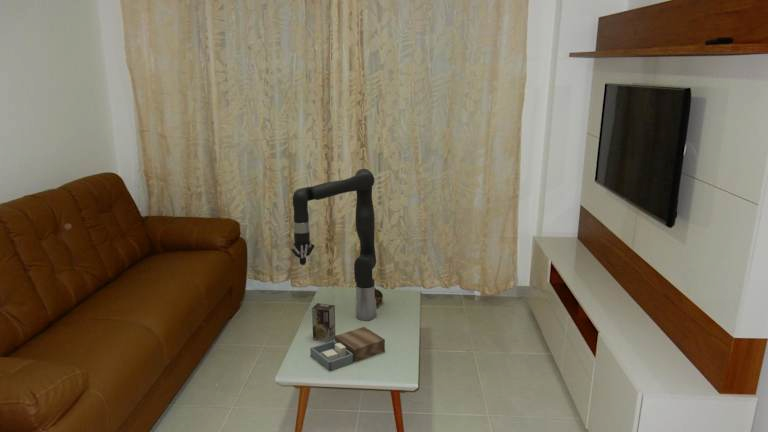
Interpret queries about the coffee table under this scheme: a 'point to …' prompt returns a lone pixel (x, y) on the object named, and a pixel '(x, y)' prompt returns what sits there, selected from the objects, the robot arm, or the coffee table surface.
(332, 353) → the front tile
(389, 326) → the coffee table surface
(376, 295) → the decorative turtle
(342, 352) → the rear tile
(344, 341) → the block
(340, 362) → the box
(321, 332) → the coffee box
